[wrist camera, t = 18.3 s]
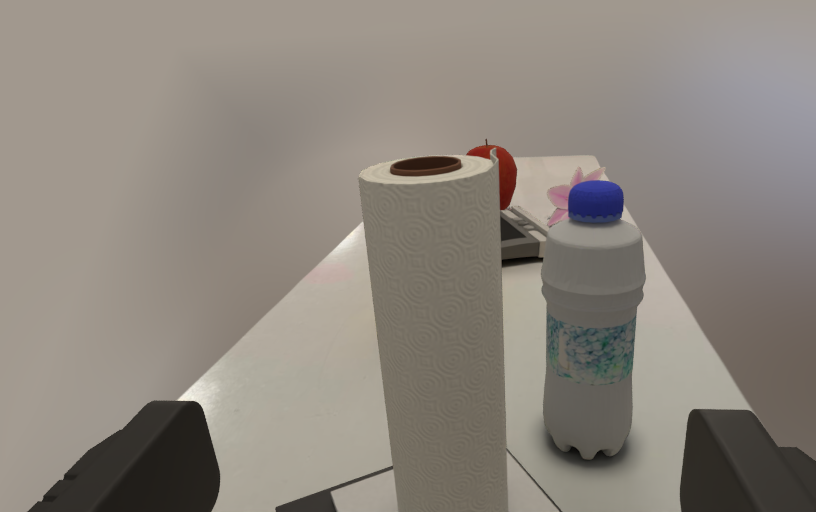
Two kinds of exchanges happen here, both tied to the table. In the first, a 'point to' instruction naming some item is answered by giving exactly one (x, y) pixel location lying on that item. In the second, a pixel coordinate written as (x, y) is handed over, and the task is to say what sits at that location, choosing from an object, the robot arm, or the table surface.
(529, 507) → the scale
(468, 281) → the paper towel roll
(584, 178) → the lily
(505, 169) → the apple
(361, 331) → the table surface
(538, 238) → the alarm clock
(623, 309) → the bottle
